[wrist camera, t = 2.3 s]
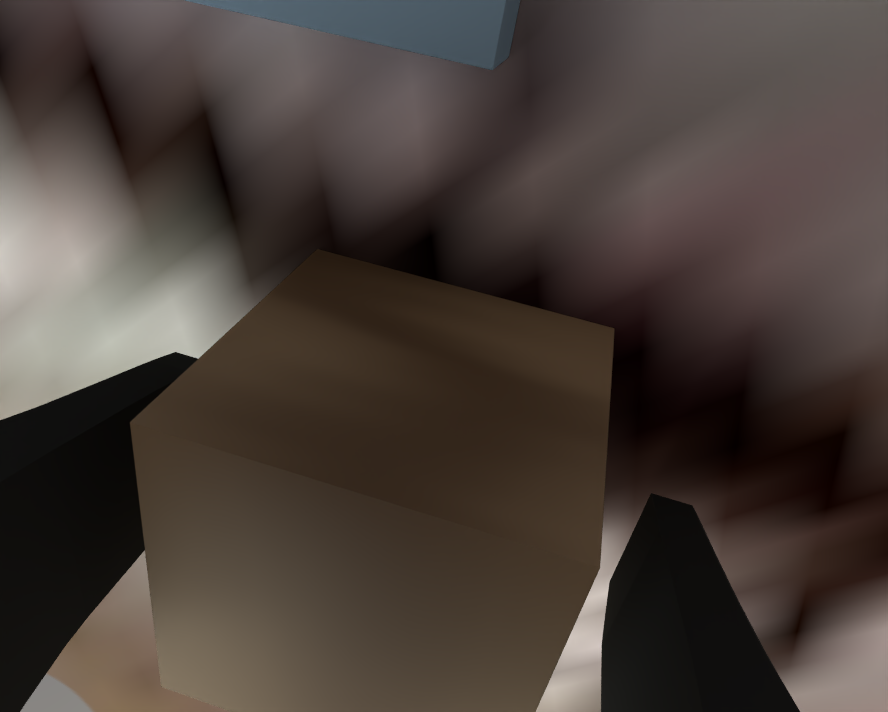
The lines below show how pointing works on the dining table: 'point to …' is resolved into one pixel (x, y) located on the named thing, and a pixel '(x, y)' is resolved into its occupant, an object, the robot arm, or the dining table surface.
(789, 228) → the dining table surface
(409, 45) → the slate board
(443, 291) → the walnut cube
